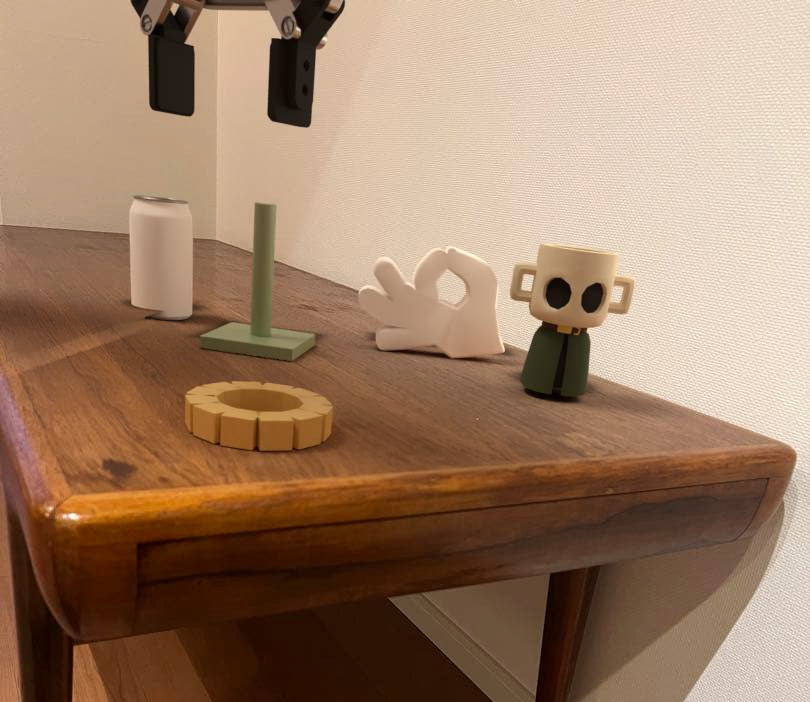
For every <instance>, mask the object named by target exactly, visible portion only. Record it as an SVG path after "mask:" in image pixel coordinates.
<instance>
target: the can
mask: <svg viewBox="0 0 810 702" xmlns="http://www.w3.org/2000/svg"><path fill="white" fill-rule="evenodd" d="M132 198H133V202H132V204H131V206H130V208H129V210H128V211H129V213H128V214H129V215H128V218H129V219H128V222H129V223H128V225H129V227H128V229H129V266H130V268H129V269H130V297H131V298H130V300H131V305H132V306H134V307H137V308H140V309H146V310H153V311H159V312H155V313H152V314H149V315H145V316H143V318H144V319H150V320H157V321H158V320H159V321H183V320H188V319H190V317H191V316H192V315H193V293H194V292H193V289H194V286H193V285H194V284H193V283H194V280H193V279H194V275H193V274H194V273H193V272H194V271H193V270H194V221H193V220H194V219H193V216H192V213H191V211H190V208H189V204H190V201H187V200H184V199H176V198H169V197H162V196H152V195H151V196H150V195H141V194H140V195H139V194H134V195H132Z"/></svg>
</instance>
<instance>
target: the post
mask: <svg viewBox="0 0 810 702" xmlns="http://www.w3.org/2000/svg"><path fill="white" fill-rule="evenodd" d="M253 207H254V212H253V216H254V217H253V236H252V237H253V238H252V239H253V241H252V266H251V267H252V268H251V270H252V271H251V275H252V276H251V297H250V298H251V299H250V324H247V323H241V322H233V321H232V322H228V323H227V324H225V325H222V326H220V327H218V328H215V329H212V330H210V331H208V332H206V333H203V334H201V335H200V336H199V349H202V348H204V349H203V350H209V349H210V350H209V351H216V350H217V351H216V352H225V353H229V354H230V353H231V354H236V353H239V354H238V355H243V354H246V355H245V356H250V355H252V357H257V356H260V357H259V358H264V357H265V359H270V360H271V359H272V360H277V359H279V361H284V360H286V361H285V362H291V361H292V362H294V361H296V359H298V358H299V357H300V356H302V355H303V354H305V353H306V352H308V351H309V350H311V349H312V348H313V347H315V344H316V334H315V333H311V332H303V331H296V330H289V329H282V328H277V327H272V316H273V315H272V314H273V294H274V293H273V292H274V271H275V249H276V248H275V247H276V226H277V225H276V224H277V204H274V203H266V202H258V201H257V202H256V201H255V202H254V205H253Z"/></svg>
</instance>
